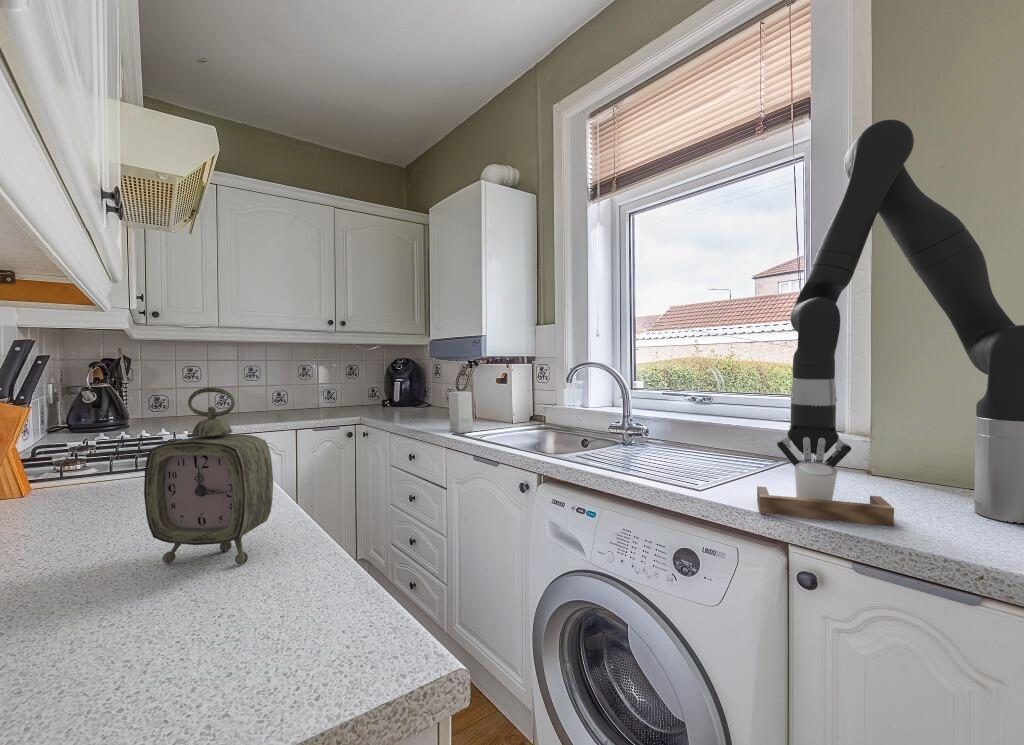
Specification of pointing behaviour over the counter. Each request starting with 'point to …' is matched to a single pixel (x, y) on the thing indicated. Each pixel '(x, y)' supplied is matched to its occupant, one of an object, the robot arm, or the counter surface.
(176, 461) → the tabletop clock
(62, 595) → the counter surface
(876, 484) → the counter surface
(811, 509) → the stop rail
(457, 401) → the skincare box
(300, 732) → the counter surface
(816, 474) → the white cup
